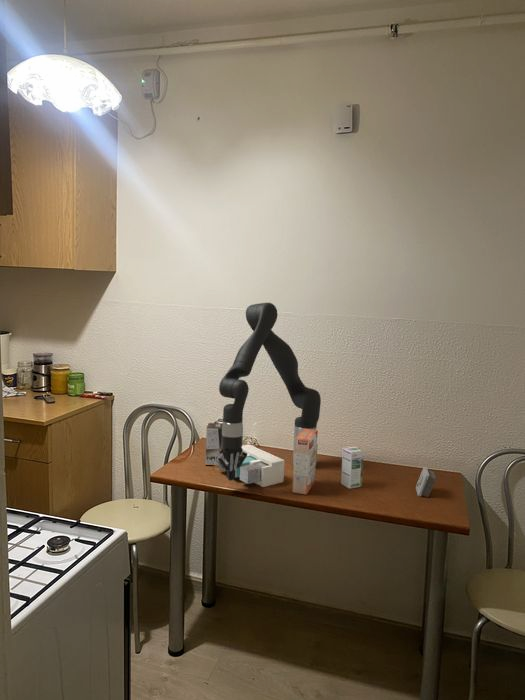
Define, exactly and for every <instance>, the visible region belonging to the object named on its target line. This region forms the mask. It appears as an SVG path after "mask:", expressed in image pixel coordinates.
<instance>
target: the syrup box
mask: <svg viewBox="0 0 525 700" xmlns="http://www.w3.org/2000/svg"><path fill="white" fill-rule="evenodd" d="M341 455H342V456H341V457H342V458H341V477H340V478H341V480H340V484H341V485H342V486H344V487H345V488H348V489H356V488H361V487H362V486H363V485H362V484H363V472H364V471H363V469H364V450H363V449H362V448H360V447H357V446H350V447H343V448H342V454H341Z"/></svg>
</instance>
